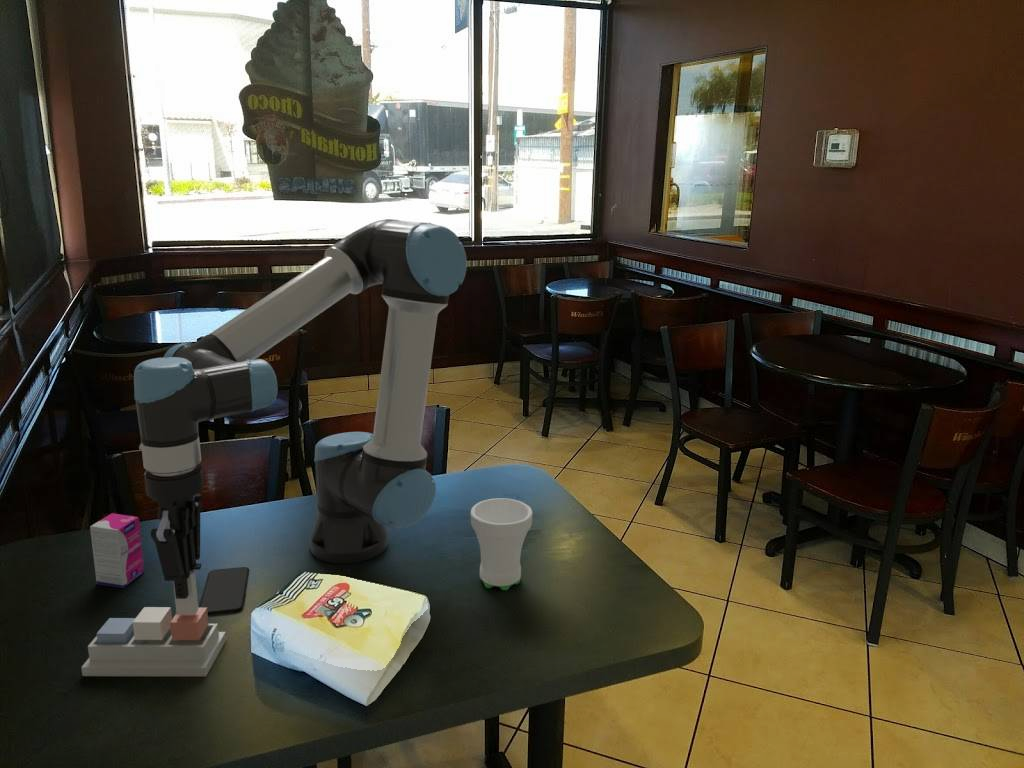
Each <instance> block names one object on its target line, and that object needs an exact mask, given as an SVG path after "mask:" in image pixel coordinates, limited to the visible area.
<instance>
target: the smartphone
mask: <svg viewBox="0 0 1024 768" xmlns="http://www.w3.org/2000/svg"><path fill="white" fill-rule="evenodd" d="M249 576H250V568H249V567H245V566H242V567H231V568H229V567H228V568H222V569H221V568H219V569H213V570H210V571H209V572H208V573H207V576H206V581H205V584H204V587H203V591H202V596H201V598H200V600H199V605H198V607H207V612H208V616H214V615H215V616H216V615H222V614H223V615H225V614H235V613H239V612H241V611H242V610H243V609H244V606H245V602H246V595H247V589H248V588H247V587H248V580H249Z"/></svg>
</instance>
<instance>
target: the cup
mask: <svg viewBox="0 0 1024 768" xmlns="http://www.w3.org/2000/svg"><path fill="white" fill-rule="evenodd" d="M532 523H533V509H532V508H531V507H530V506H529V505H528V504H526V503H525V502H523V501H520V500H517V499H513V498H504V497H503V498H502V497H501V498H499V497H497V498H496V497H495V498H490V499H485V500H481V501H479V502H477V503H476V504H474V505H473V506H472V507H471V510H470V524H471V525H470V526H471V527H472V529H473V530H474V532H475V534H476V538H477V540H478V544H479V550H480V564H479V565H480V566H479V579H480V580H481V581H482V583H483V585H484V588H487V589H491V588H494V587H498V588H500V589H501V590H502V591H504V590H505V591H508V590H509V589H510V587H512V586H513V585H518V584H520V581H521V578H522V577H521V576H522V566H521V554H522V549H523V545H524V541H525V538H526V536H527V534H528V533H529V531H530V529H531V528H532Z"/></svg>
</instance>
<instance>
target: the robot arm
mask: <svg viewBox="0 0 1024 768" xmlns="http://www.w3.org/2000/svg"><path fill="white" fill-rule="evenodd" d="M467 262H468V261H467V254H466V249H465V247H464V245H463V243H462V242H461V241H460V239H459V237H458V235H457V234H456V233H455V232H454V231H452V230H451V229H450V228H448V227H447V226H446V227H445V226H443V225H438V224H434V223H431V222H424V221H423V222H418V221H410V220H409V221H407V220H400V219H391V218H390V219H388V218H387V219H386V218H385V219H381V220H377V221H374V222H372V223H369V224H366V225H365V226H362V227H361V228H359V229H356V230H355V231H353V232H352V233H350V234H348V235H346V236H345V237H343V238H341V239H340V240H338V241H337V242H335V243H334V244H333V245H331V246H329V247H328V248H326V249H325V251H324V257H323V258H321V259H320V260H319V261H318V262H316V263H314V264H313V265H311V266H309V267H308V268H307V269H305V270H303V271H302V272H301V273H299V274H298V275H296V276H295V277H293V278H292V279H290V280H289V281H287V282H286V283H284V284H282V285H281V286H280V287H278V288H276V289H275V290H273V291H272V292H271V293H269V294H267V295H266V296H264V297H263V298H261V299H260V300H259V301H257V302H255V303H254V304H252V305H251V306H250V307H248V308H246V309H244V310H243V311H242V312H241V313H238V314H237V315H235V317H233V318H232V319H230V320H228V321H227V322H225V323H223V324H222V325H221V326H219V327H218V328H217V329H215V330H213V331H212V332H210V333H208V334H207V335H205V336H203V337H202V338H200V339H199V340H198V341H196V342H194V343H179V344H175V345H173V346H172V347H171V348H169V349H168V350H167V351H166V352H165V354H164V355H163V357H156V358H150V359H147V360H144V361H142V362H140V363H138V365H136V366H135V367H134V368H135V369H134V371H133V374H134V375H133V378H134V379H133V387H134V389H133V391H134V394H133V398H134V400H135V407H136V413H137V421H138V427H139V434H140V436H139V437H140V444H139V446H138V449H139V450H140V451H141V455H142V463H143V469H145V471H144V473H143V474H144V485H145V493H146V496H147V497H148V498H150V499H151V500H153V501H155V502H156V503H157V504H158V510H157V517H158V520H159V524H158V528H152V529H151V531H150V537H151V539H152V541H153V542H154V543H155V547H156V551H157V555H158V560H159V563H160V567H161V570H162V574H163V575H162V576H163V578H164V581H165V582H172V584H173V593H174V595H173V596H174V603H175V604H174V605H175V615H176V614H177V615H195V614H196V613H197V611H198V607H199V602H198V601H199V600H198V591H197V589H198V588H197V581H196V571H195V570H201V568H202V563H197V561H199V560H200V558H201V510H202V509H201V507H202V500H203V496H202V494H199V493H201V492H202V490H203V487H204V480H203V479H204V478H203V469H202V468H203V467H202V465H201V464H200V463H201V462H202V454H201V453H202V452H201V444H200V443H201V442H200V434H199V432H200V431H199V423H201V422H203V421H204V422H205V421H210V420H215V419H220V418H224V417H228V416H233V415H239V414H243V413H247V412H248V413H249V412H251V413H252V412H255V411H256V410H260V409H263V408H268V407H271V406H272V404H274V402H275V401H276V398H277V396H278V391H279V389H278V380H277V375H276V373H275V371H274V369H273V367H272V365H271V364H270V363H269V362H268V361H266V360H265V359H263V358H262V359H260V358H259V357H260V356H261V355H263V354H265V353H266V352H267V351H269V350H270V349H272V348H273V347H274V346H275V345H278V343H280V342H282V341H283V340H285V339H286V338H288V337H289V336H290V335H292V334H293V333H294V332H296V331H297V330H298V329H300V328H302V327H303V326H305V325H306V324H307V323H309V322H310V321H312V320H313V319H314V318H316V317H317V316H319V315H320V314H322V313H324V312H325V311H326V310H327V309H329V308H330V307H332V306H333V305H334V304H336V303H337V302H339V301H340V300H342V299H343V298H345V297H346V296H347V295H349V294H350V295H351V294H352V295H358V294H360V293H362V292H363V291H365V290H366V289H368V288H370V287H373V286H376V285H382V287H381V288H382V290H381V298H383V300H384V301H385V303H386V304H387V305H388V314H387V320H386V328H385V329H386V330H385V338H384V346H383V353H382V360H381V361H382V363H381V369H380V370H381V371H380V377H379V380H380V381H379V385H378V386H379V387H378V395H377V403H376V411H375V418H374V426H373V433H371V432H367V431H366V432H365V431H348V432H342V433H341V432H339V433H335V434H332V435H328V436H326V437H324V438H322V439H320V440H319V441H318V442H317V443H316V444H315V447H314V448H315V449H314V459H313V462H314V466H315V485H316V498H317V499H316V503H317V514H316V518H315V520H314V524H313V527H312V530H311V533H310V537H309V538H310V539H309V544H310V545H309V546H310V552H311V554H312V555H313V556H314V557H316V558H317V560H318V559H319V560H321V561H324V562H327V563H331V564H341V565H342V564H343V565H344V564H355V563H361V562H365V561H368V560H371V559H373V558H375V557H377V556H379V555H381V554H382V553H383V552H384V551H385V550H386V549H387V547H388V542H389V539H388V537H389V536H388V535H389V534H388V529H387V527H389V528H392V529H396V530H397V529H398V530H403V529H405V528H409V527H411V526H413V525H415V524H416V523H418V522H419V521H420V520H421V519H422V518H423V516H425V515H426V514H427V513H428V512H429V510H430V509H431V507H432V505H433V503H434V500H435V496H436V492H437V491H436V490H437V487H436V486H437V484H436V482H435V479H434V478H433V476H432V474H431V473H430V472H429V471H427V469H426V467H427V458H428V452H427V451H426V449H425V448H424V446H422V444H421V441H422V434H423V426H424V420H425V419H424V418H425V412H426V403H427V397H428V389H429V384H430V383H429V382H430V376H431V375H430V374H431V367H432V359H433V351H434V344H435V338H436V328H437V322H438V316H439V313H440V312H441V311H442V310H443V309H445V308H446V307H448V305H449V299H450V298H449V297H450V295H451V294H453V293H455V292H456V291H457V290H458V289H459V286H461V285H462V284H463V282H464V281H465V277H466V273H467V267H468V265H467V264H468V263H467ZM258 358H259V359H258ZM386 526H387V527H386Z"/></svg>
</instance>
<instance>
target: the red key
mask: <svg viewBox="0 0 1024 768" xmlns="http://www.w3.org/2000/svg"><path fill="white" fill-rule="evenodd" d="M209 624H210V623H209V615H208V612H207V607H199V606H198V611H197V613H196V614H195V615H177V614H176V613H175V615H174V616H173V617H172V621H171V622H170V625H171V634H172V640H200V638H201V636H202V635H203V633H204V631H205V630H206V628H207V627H208V625H209Z"/></svg>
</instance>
